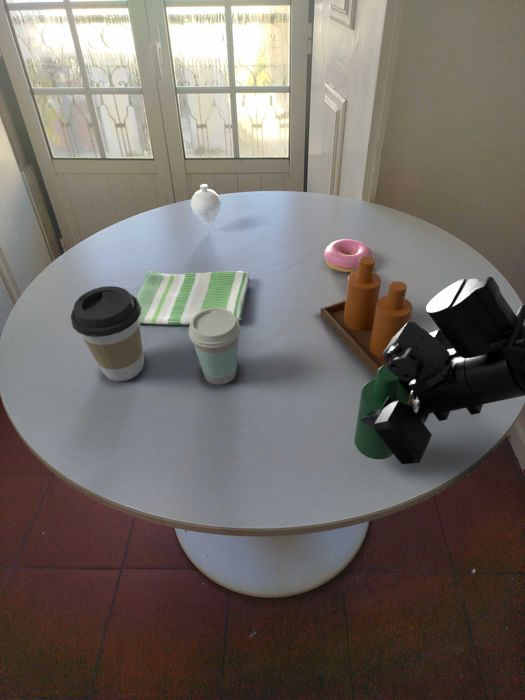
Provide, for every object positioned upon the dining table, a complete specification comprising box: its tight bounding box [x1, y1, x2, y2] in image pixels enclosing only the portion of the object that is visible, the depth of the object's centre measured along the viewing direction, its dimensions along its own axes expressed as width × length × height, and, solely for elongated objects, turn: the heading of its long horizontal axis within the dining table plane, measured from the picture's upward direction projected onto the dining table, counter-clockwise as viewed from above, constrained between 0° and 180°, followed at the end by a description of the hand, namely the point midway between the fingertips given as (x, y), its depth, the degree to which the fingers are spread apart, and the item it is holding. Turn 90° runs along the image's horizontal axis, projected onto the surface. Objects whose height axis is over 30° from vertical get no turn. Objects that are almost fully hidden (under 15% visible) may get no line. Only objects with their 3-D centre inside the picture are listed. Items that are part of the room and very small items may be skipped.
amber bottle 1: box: [344, 256, 382, 331], centre depth 88 cm, size 6×6×14 cm
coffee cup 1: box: [70, 285, 145, 382], centre depth 81 cm, size 11×11×15 cm
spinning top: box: [190, 183, 222, 230], centre depth 120 cm, size 8×8×12 cm
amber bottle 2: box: [370, 280, 413, 359], centre depth 82 cm, size 6×6×14 cm
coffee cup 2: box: [188, 308, 241, 386], centre depth 80 cm, size 8×8×12 cm
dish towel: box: [135, 270, 250, 326], centre depth 100 cm, size 18×23×3 cm
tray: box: [319, 299, 413, 405], centre depth 87 cm, size 28×11×2 cm, turn 25°
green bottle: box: [353, 365, 409, 460], centre depth 62 cm, size 6×6×14 cm
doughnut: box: [323, 238, 373, 273], centre depth 109 cm, size 11×11×4 cm
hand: (372, 405), depth 63 cm, fingers closed on green bottle, 6 cm apart
